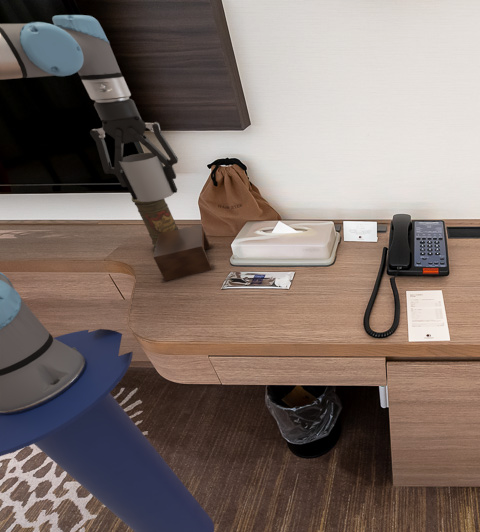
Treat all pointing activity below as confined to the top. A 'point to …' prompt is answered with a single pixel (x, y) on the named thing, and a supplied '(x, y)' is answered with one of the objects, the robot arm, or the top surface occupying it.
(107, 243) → the top surface
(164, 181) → the cup
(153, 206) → the container
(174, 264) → the brown wooden block
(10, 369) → the robot arm
